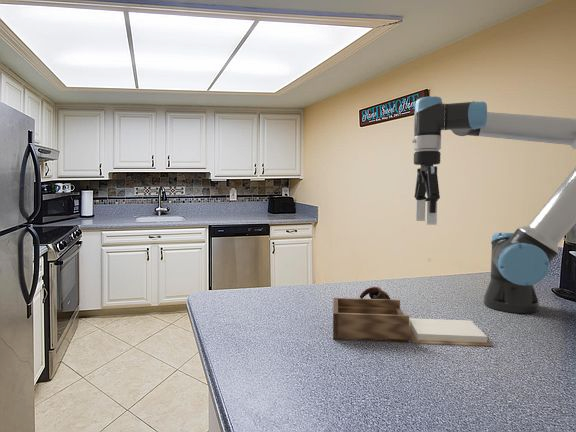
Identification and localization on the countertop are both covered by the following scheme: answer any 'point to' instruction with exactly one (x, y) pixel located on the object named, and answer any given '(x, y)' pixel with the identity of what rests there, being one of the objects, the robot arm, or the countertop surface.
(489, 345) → the cork mat
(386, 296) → the pottery mug
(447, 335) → the cover plate
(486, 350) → the countertop surface
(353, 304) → the walnut box
